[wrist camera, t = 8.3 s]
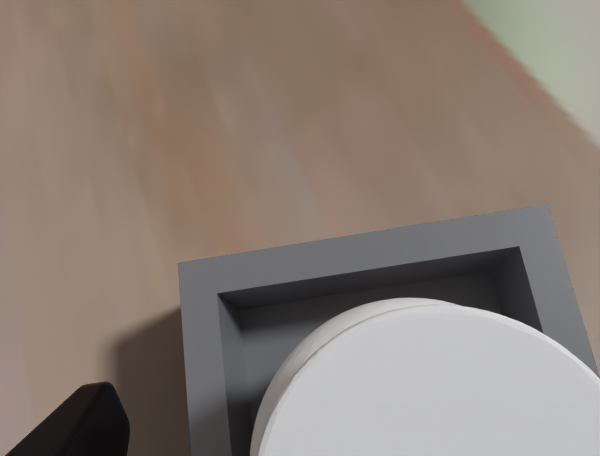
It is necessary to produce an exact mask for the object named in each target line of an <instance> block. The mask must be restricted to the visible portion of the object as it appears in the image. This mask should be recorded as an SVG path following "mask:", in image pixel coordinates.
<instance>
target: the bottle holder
mask: <svg viewBox="0 0 600 456" xmlns="http://www.w3.org/2000/svg"><path fill="white" fill-rule="evenodd" d="M178 274H179V289H180V303H181V318H182V333H183V347H184V362H185V376H186V391H187V405H188V420H189V434H190V449H191V456H250V447H251V440H252V434H253V430H254V425H255V421H256V417H257V413H258V410H259V408H260V405H261V402H262V399H263V397H264V395H265V393H266V391H267V388H268V386H269V385H270V383H271V381H272V379H273V377H274V376H275V374H276V372H277V371H278V369H279V368H280V366H281V365H282V363H283V362H284V360H285V359H286V358H287V357H288V356H289V354H290V353H291V352H292V351H293V350H294V348H295V347H296V346H297V345H298V344H299V343H300V342H301V341H302V340H303V339H304V338H306V337H307V336H308V335H309V334H310V333H312V332H313V331H314V330H315V329H317V328H318V327H319V326H321V325H322V324H324V323H325V322H327V321H328V320H330V319H332V318H333V317H335V316H337V315H339V314H341V313H343V312H345V311H348V310H350V309H352V308H355V307H358V306H361V305H364V304H368V303H372V302H376V301H381V300H387V299H394V298H426V299H435V300H440V301H445V302H450V303H453V304H457V305H460V306H465V307H472V308H477V309H481V310H486V311H490V312H493V313H497V314H500V315H503V316H506V317H508V318H511V319H514V320H517V321H519V322H522V323H524V324H526V325H528V326H530V327H532V328H534V329H536V330H538V331H539V332H541V333H543V334H545V335H546V336H548V337H549V338H551V339H553V340H554V341H556V342H558V343H559V344H560V345H562V346H563V347H565V348H566V349H567V350H568V351H569V352H571V353H572V354H573V355H575V356H576V357H577V358H578V359H579V360H581V361H582V362H583V363H584V364H585V365H586V366H588V367H589V368H590V369H591V370H592V371H593V372H594V373H595V374H596V375H597V377H598V378H599V379H600V377H599V373H598V370H597V367H596V363H595V360H594V357H593V353H592V350H591V347H590V343H589V340H588V337H587V333H586V330H585V327H584V323H583V320H582V317H581V314H580V310H579V307H578V304H577V300H576V297H575V294H574V290H573V287H572V284H571V280H570V277H569V274H568V270H567V267H566V264H565V260H564V257H563V254H562V251H561V247H560V244H559V241H558V237H557V234H556V231H555V227H554V224H553V221H552V217H551V214H550V211H549V207H548V204H544V205H538V206H531V207H525V208H519V209H513V210H506V211H500V212H494V213H488V214H481V215H475V216H469V217H462V218H456V219H450V220H444V221H437V222H431V223H425V224H419V225H412V226H406V227H400V228H394V229H387V230H381V231H375V232H368V233H362V234H356V235H350V236H343V237H337V238H331V239H325V240H318V241H312V242H306V243H300V244H293V245H287V246H281V247H274V248H268V249H262V250H256V251H249V252H243V253H237V254H231V255H224V256H218V257H212V258H206V259H199V260H193V261H187V262H180V263H178Z"/></svg>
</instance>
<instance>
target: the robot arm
mask: <svg viewBox="0 0 600 456" xmlns="http://www.w3.org/2000/svg"><path fill="white" fill-rule="evenodd" d="M129 435H130V426H129V420H128V417H127V415H126V413H125V410H124V408H123V406H122V404H121V401H120V399H119V397H118V395H117V392H116V390H115V388H114V386H113V385H112V384H111V383H109V382H98V383H92V384H86V385H83V386H81V387H80V388H79V389H77V390H76V391H75V392H74V393H73V394H72V395H71V396H70V397H69V398H67V399H66V400H65V401H64V402H63V403H62V404H61V405H60V406H59V407H58V408H57V409H55V410H54V411H53V412H52V413H51V414H50V415H49V416H48V417H47V418H46V419H45V420H43V421H42V422H41V423H40V424H39V425H38V426H37V427H36V428H35V429H34V430H33V431H31V432H30V433H29V434H28V435H27V436H26V437H25V438H24V439H23V440H22V441H21V442H19V443H18V444H17V445H16V446H15V447H14V448H13V449H12V450H11V451H10V452H9V453H7V454H6V455H5V456H127V450H128V443H129Z"/></svg>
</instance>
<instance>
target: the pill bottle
mask: <svg viewBox="0 0 600 456" xmlns="http://www.w3.org/2000/svg"><path fill="white" fill-rule="evenodd" d="M250 456H600V379H599V378H598V377H597V375H596V374H595V373H594V372H593V371H592V370H591V369H590V368H589V367H588V366H586V365H585V364H584V363H583V362H582V361H581V360H579V359H578V358H577V357H576V356H575V355H573V354H572V353H571V352H569V351H568V350H567V349H566V348H565V347H563V346H562V345H560V344H559V343H558V342H556V341H554V340H553V339H551V338H549V337H548V336H546V335H545V334H543V333H541V332H539V331H538V330H536V329H534V328H532V327H530V326H528V325H526V324H524V323H522V322H519V321H517V320H514V319H511V318H508V317H506V316H503V315H500V314H497V313H493V312H490V311H486V310H481V309H477V308H472V307H465V306H460V305H457V304H453V303H450V302H445V301H440V300H435V299H426V298H394V299H387V300H381V301H376V302H372V303H368V304H364V305H361V306H358V307H355V308H352V309H350V310H348V311H345V312H343V313H341V314H339V315H337V316H335V317H333V318H332V319H330V320H328V321H327V322H325V323H324V324H322V325H321V326H319V327H318V328H317V329H315V330H314V331H313V332H312V333H310V334H309V335H308V336H307V337H306V338H304V339H303V340H302V341H301V342H300V343H299V344H298V345H297V346H296V347H295V348H294V350H293V351H292V352H291V353H290V354H289V356H288V357H287V358H286V359H285V360H284V362H283V363H282V365H281V366H280V368H279V369H278V371H277V372H276V374H275V376H274V377H273V379H272V381H271V383H270V385H269V386H268V388H267V391H266V393H265V395H264V397H263V399H262V402H261V405H260V408H259V410H258V413H257V417H256V421H255V425H254V430H253V434H252V440H251V447H250Z"/></svg>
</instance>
